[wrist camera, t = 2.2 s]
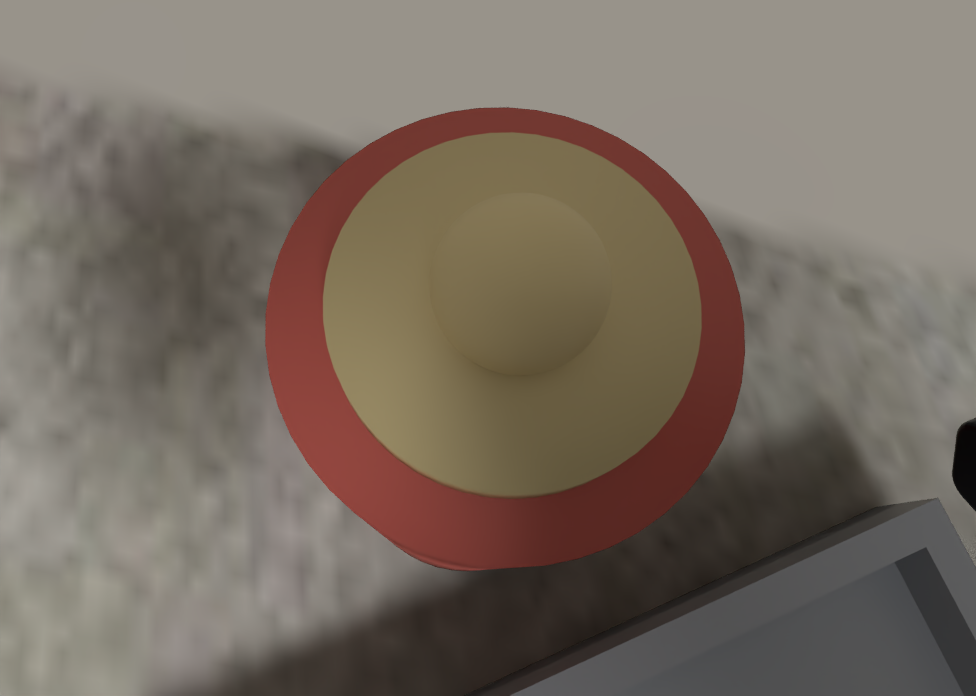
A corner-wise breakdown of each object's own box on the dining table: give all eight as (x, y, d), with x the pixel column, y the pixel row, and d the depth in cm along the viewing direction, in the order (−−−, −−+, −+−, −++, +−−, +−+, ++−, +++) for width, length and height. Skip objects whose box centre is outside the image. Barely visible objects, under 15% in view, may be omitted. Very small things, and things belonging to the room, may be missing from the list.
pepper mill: (618, 438, 20) (933, 210, 7) (487, 619, 19) (604, 714, 6) (448, 309, 21) (476, -100, 8) (309, 475, 19) (82, 292, 7)
